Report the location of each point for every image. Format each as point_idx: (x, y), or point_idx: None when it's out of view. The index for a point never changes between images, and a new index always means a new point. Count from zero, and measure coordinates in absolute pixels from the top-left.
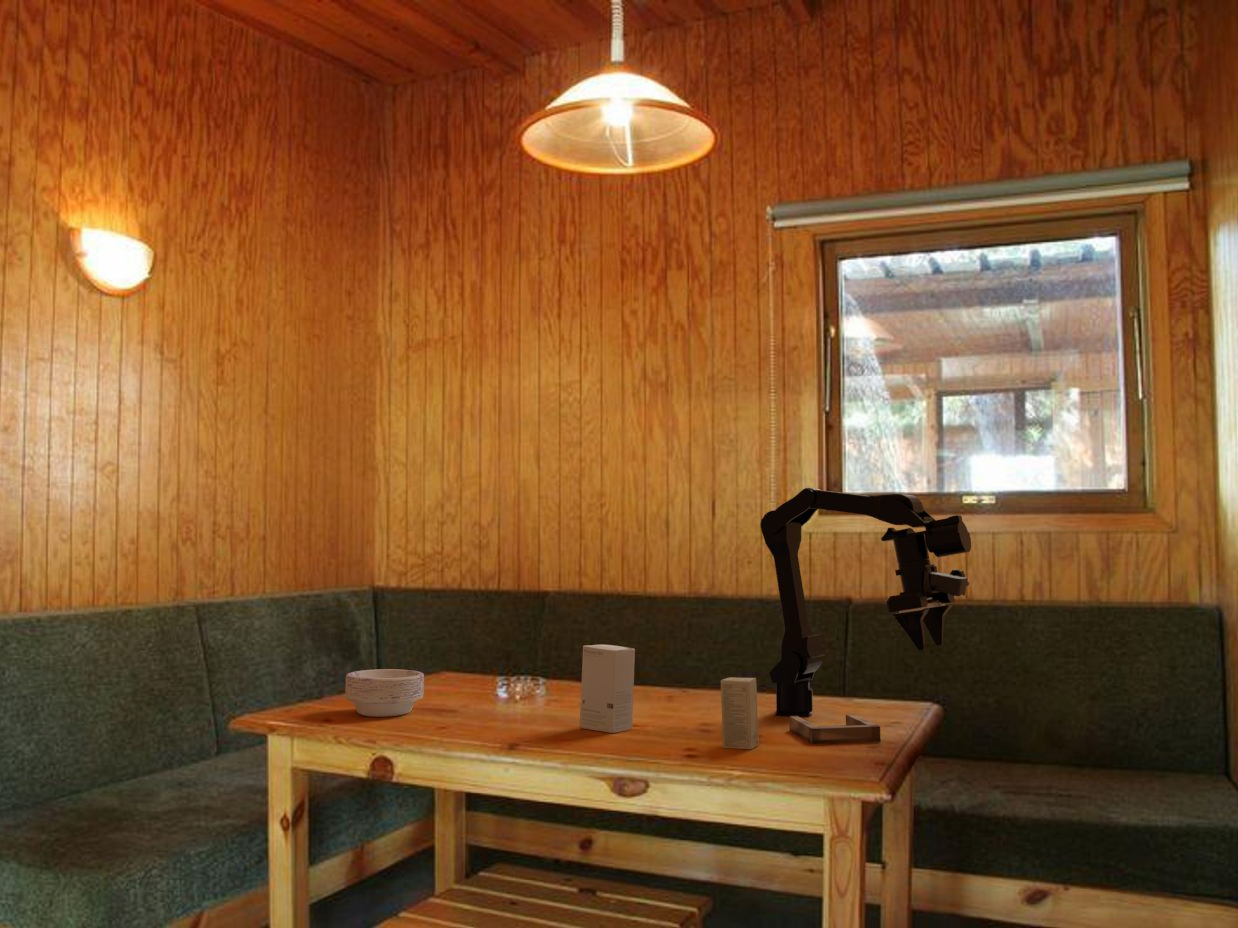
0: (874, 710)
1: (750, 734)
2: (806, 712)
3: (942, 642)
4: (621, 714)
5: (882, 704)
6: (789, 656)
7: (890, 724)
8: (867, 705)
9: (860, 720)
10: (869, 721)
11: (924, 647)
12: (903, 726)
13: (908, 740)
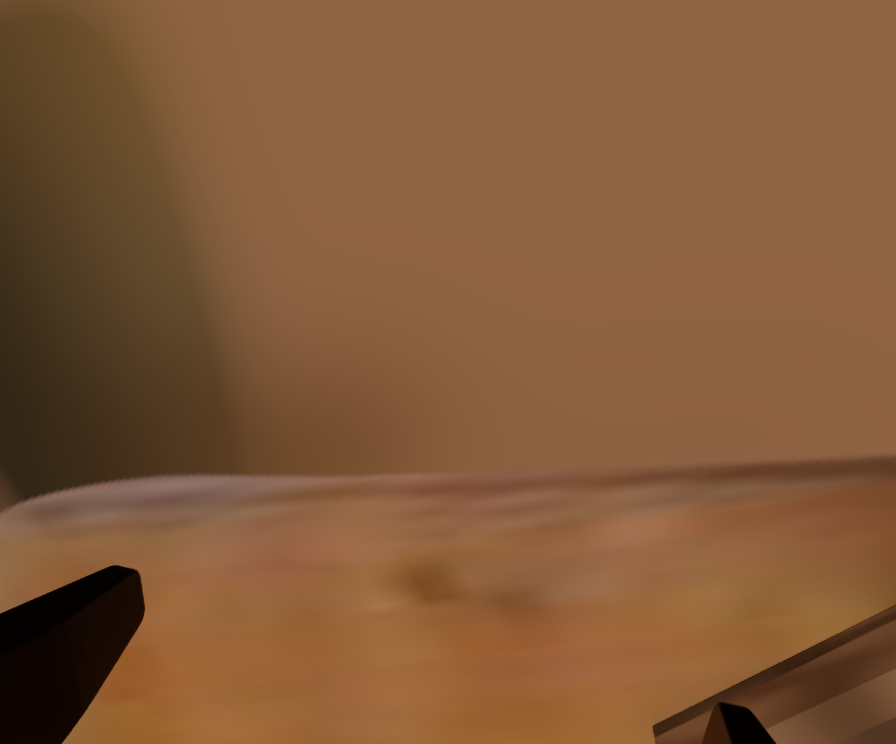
0: (200, 699)
1: None
2: None
3: (99, 572)
4: None
5: None
6: None
7: (485, 598)
8: (109, 737)
9: (844, 729)
10: (858, 686)
11: (741, 717)
12: (507, 540)
13: (865, 464)
